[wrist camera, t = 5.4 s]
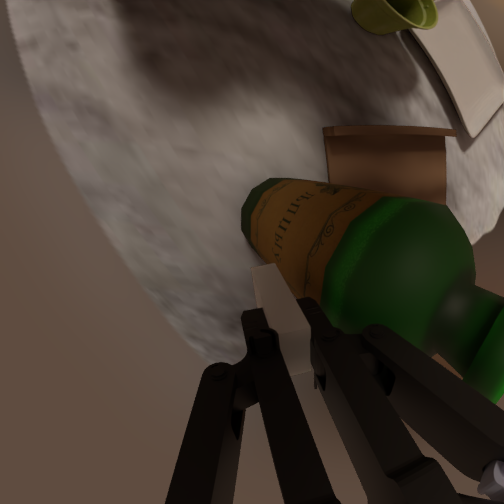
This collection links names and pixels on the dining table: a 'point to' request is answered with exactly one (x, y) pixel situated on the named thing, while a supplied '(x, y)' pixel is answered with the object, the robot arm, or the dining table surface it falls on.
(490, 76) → the salad plate
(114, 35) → the dining table surface
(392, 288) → the bottle
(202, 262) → the dining table surface
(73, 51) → the dining table surface
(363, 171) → the cradle
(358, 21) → the plant pot
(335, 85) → the dining table surface
